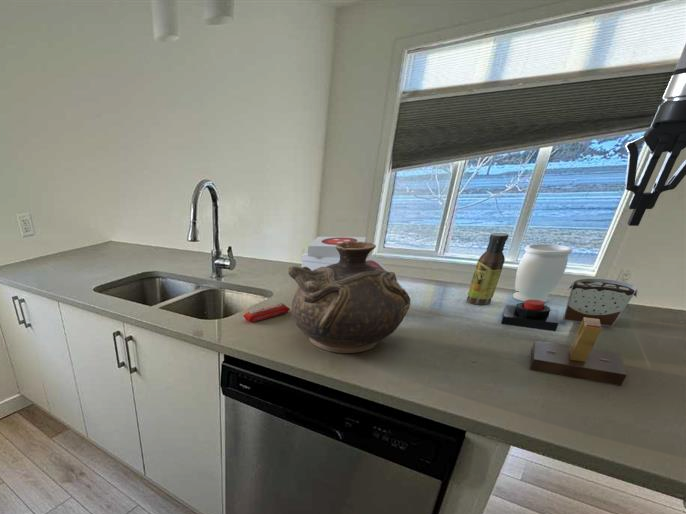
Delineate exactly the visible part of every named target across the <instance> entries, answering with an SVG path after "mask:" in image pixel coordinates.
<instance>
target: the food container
mask: <svg viewBox="0 0 686 514" xmlns="http://www.w3.org/2000/svg"><path fill="white" fill-rule="evenodd" d="M569 290H570V292H569V295H568V300H567V304H566V307H565V310H564V314H563V319H562V321H567V322H568V321H569V322H575V323H581V322H582V320H583V318H584V317H585V318H594V319H599V320H600V324H601V326H603V327H612V328H613V327H614V325H615V324H616V322H617V320H618V319H619V318H620V316H621V315H622V314H623V312H624V311H625V308H627V306H628V304H629V303H630V301H631V300H632V298H633V297H635V298H637V297H638V293H639V291H638V287H637V286H636V285H634V284H631V283H628V282H625V281H620V280H613V279H605V278H604V279H603V278H581V279H576V280H574V281H573V282H572V283H571V284H570V285H569V287H568V288H567V291H569Z"/></svg>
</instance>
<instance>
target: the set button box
mask: <svg viewBox="0 0 686 514" xmlns="http://www.w3.org/2000/svg"><path fill="white" fill-rule="evenodd" d="M524 303H525V302H519V303H517V304H516V305H512V304H511V305H510V304H505V307H504V310H503V313H502V318H501V321H500V325H504V326H513V327H520V328H528V329H536V330H541V331H542V330H544V331H550V332H556V331H557V328H558V326H559V310H556V309H551V307H550V306H548V305H546V304H545V305H544V307H543V310H531V309H526V308H524V307H523V306H524Z"/></svg>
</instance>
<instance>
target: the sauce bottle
mask: <svg viewBox="0 0 686 514" xmlns="http://www.w3.org/2000/svg"><path fill="white" fill-rule="evenodd" d="M508 239H509V233H506V232H492V233H490V235H489V241H488V244H487V247H486V250H485V252H483V253H482V255H480V256H479V258H478V260H477V263H476V265H475V269H474V272H473V275H472V279H471V281H470V285H469V288H468V292H467V297H466V301H467V302H468V303H470V304H471V305H475V306H486V305H487V306H488V305H489V304H491V302H492V299H493V297H494V296H495V295H494V294H495V292H496V289H497V286H498V283H499V280H500V277H501V274H502V271H503V268H504V264H505V261H506V257H505V255H504V251H505V250H504V249H505V245H506V242H507V241H508Z"/></svg>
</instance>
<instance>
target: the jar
mask: <svg viewBox="0 0 686 514" xmlns="http://www.w3.org/2000/svg"><path fill="white" fill-rule="evenodd" d="M523 250H524V252H525V253H524V254H523V256H522V257H521V259H520V261H519V263H518V266H517V270H516V274H515V280H514V281H515V282H514V288H515V289H514V290H515V292H514V293H513V294H512V297H513V299H515V300H517V301H519V302H523V303H525V301H526V300H540V301H543V302H545V303H546V302H548V301H549V295H550V294H551V293H552V292H553V291H554V290H555V288H556V287H557V285H558V284H559V281H560V280H561V279H562V277H563V276H564V273H565V271H566V268H567V265H568V261H569V255H571V254H572V253H573V250H574V248H573V247H572V246H569V245H565V244H564V245H563V244H554V243H532V244H531V243H530V244H527V245H525V246H524V249H523ZM516 291H519V292H516Z"/></svg>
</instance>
